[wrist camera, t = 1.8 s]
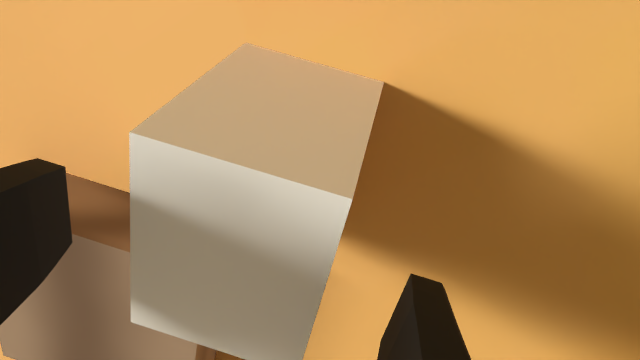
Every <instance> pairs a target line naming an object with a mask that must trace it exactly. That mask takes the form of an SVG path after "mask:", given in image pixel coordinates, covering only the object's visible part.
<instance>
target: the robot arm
mask: <svg viewBox="0 0 640 360" xmlns="http://www.w3.org/2000/svg"><path fill="white" fill-rule="evenodd" d="M72 243H73V241H72V231H71V221H70V211H69V201H68V190H67V180H66V170H65V167H64V166H61V165H57V164H54V163H51V162H48V161H44V160H41V159H38V158H37V159H33V160H29V161H25V162H21V163H17V164H13V165H10V166H7V167H3V168H0V325H1V324H2V323H3V322H4V321H5V320H6V319H7V318H8V317H9V316H10V315H11V314H12V313H13V312H14V311H15V310H16V309H17V308H18V307H19V306H20V305H21V304H22V303H23V302H24V301H25V300H26V299H27V298H28V297H29V296H30V295H31V294H32V293H33V292H34V291H35V290H36V289H37V288H38V287H39V285H40V284H41V283H42V282H43V281H44V280H45V278H46V277H47V276H48V275H49V273H50V272H51V271H52V270H53V268H54V267H55V266H56V265H57V263H58V262H59V260H60V259H61V258H62V256H63V255H64V254H65V252H66V251H67V250H68V248H69V247H70V245H71V244H72ZM377 360H471V358H470V355H469V353H468V351H467V348H466V345H465V343H464V340H463V338H462V335H461V333H460V330H459V327H458V325H457V322H456V319H455V316H454V314H453V311H452V308H451V305H450V302H449V300H448V297H447V294H446V291H445V289H444V287H443V285H442V283H440V282H436V281H433V280H430V279H427V278H423V277H420V276H417V275H414V274H410V277H409V279H408V281H407V283H406V286H405V288H404V290H403V292H402V294H401V297H400V299H399V301H398V303H397V306H396V308H395V310H394V312H393V315H392V317H391V319H390V321H389V323H388V326H387V328H386V330H385V332H384V335H383V337H382V339H381V342H380V348H379V353H378V359H377Z"/></svg>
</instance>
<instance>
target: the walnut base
mask: <svg viewBox="0 0 640 360" xmlns="http://www.w3.org/2000/svg"><path fill="white" fill-rule="evenodd" d="M66 180H67V190H68V201H69V211H70V221H71V231H72V241H73V243H72V244H71V245H70V247H69V248H68V250H67V251H66V252H65V254H64V255H63V256H62V258H61V259H60V260H59V262H58V263H57V265H56V266H55V267H54V268H53V270H52V271H51V272H50V273H49V275H48V276H47V277H46V278H45V280H44V281H43V282H42V283H41V284H40V285H39V287H38V288H37V289H36V290H35V291H34V292H33V293H32V294H31V295H30V296H29V297H28V298H27V299H26V300H25V301H24V302H23V303H22V304H21V305H20V306H19V307H18V308H17V309H16V310H15V311H14V312H13V313H12V314H11V315H10V316H9V317H8V318H7V319H6V320H5V321H4V322H3V323H2V324H1V325H0V343H1V347H2V351H3V355H4V356H7V357H10V358H13V359H16V360H215V355H216V350H215V349H212V348H209V347H206V346H203V345H200V344H196V343H193V342H190V341H187V340H184V339H181V338H178V337H175V336H172V335H169V334H166V333H163V332H160V331H157V330H153V329H150V328H147V327H144V326H141V325H138V324H135V323H132V322H131V286H130V193H128V192H125V191H122V190H119V189H115V188H112V187H109V186H106V185H103V184H99V183H96V182H93V181H90V180H87V179H84V178H80V177H77V176H74V175H71V174H68V173H66Z"/></svg>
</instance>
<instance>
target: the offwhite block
mask: <svg viewBox="0 0 640 360" xmlns="http://www.w3.org/2000/svg"><path fill="white" fill-rule="evenodd" d="M383 84H384V82H382V81H379V80H375V79H372V78H368V77H365V76H361V75H358V74H354V73H351V72H347V71H344V70H340V69H336V68H333V67H329V66H326V65H322V64H319V63H315V62H312V61H308V60H305V59H301V58H298V57H294V56H291V55H287V54H284V53H280V52H277V51H273V50H270V49H266V48H263V47H259V46H256V45H252V44H249V43H244V44H243V45H242V46H240V47H239V48H238V49H237V50H235V51H234V52H233V53H231V54H230V55H229V56H227V57H226V58H225V59H224V60H222V61H221V62H220V63H218V64H217V65H216V66H215V67H213V68H212V69H211V70H209V71H208V72H207V73H205V74H204V75H203V76H202V77H200V78H199V79H198V80H196V81H195V82H194V83H193V84H191V85H190V86H189V87H187V88H186V89H185V90H183V91H182V92H181V93H180V94H178V95H177V96H176V97H174V98H173V99H172V100H171V101H169V102H168V103H167V104H165V105H164V106H163V107H161V108H160V109H159V110H158V111H156V112H155V113H154V114H152V115H151V116H150V117H149V118H147V119H146V120H145V121H143V122H142V123H141V124H139V125H138V126H137V127H136V128H134V129H133V130H132V131H130V286H131V322H132V323H135V324H138V325H141V326H144V327H147V328H150V329H153V330H157V331H160V332H163V333H166V334H169V335H172V336H175V337H178V338H181V339H184V340H187V341H190V342H193V343H196V344H200V345H203V346H206V347H209V348H212V349H215V350H218V351H221V352H224V353H227V354H230V355H233V356H236V357H239V358H243V359H246V360H302V359H303V356H304V353H305V350H306V347H307V343H308V340H309V337H310V334H311V331H312V327H313V324H314V321H315V318H316V315H317V311H318V308H319V305H320V302H321V299H322V295H323V292H324V289H325V286H326V283H327V279H328V276H329V273H330V270H331V267H332V263H333V260H334V257H335V254H336V251H337V248H338V244H339V241H340V238H341V235H342V232H343V228H344V225H345V222H346V219H347V216H348V212H349V209H350V206H351V203H352V200H353V196H354V192H355V188H356V185H357V181H358V177H359V174H360V170H361V166H362V162H363V159H364V155H365V151H366V147H367V144H368V140H369V136H370V133H371V129H372V125H373V121H374V118H375V114H376V110H377V106H378V103H379V99H380V95H381V91H382V88H383Z"/></svg>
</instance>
